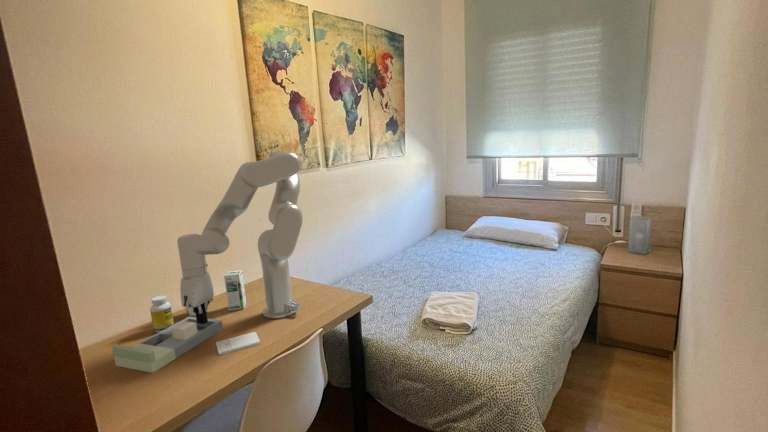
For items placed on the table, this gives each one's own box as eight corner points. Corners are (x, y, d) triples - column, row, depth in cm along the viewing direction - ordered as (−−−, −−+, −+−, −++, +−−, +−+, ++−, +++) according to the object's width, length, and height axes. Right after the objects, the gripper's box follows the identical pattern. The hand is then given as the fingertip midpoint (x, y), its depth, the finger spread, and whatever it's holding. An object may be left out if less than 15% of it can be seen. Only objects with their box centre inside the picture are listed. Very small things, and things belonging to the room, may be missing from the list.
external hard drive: (260, 345, 127) (219, 357, 121) (255, 335, 134) (216, 346, 128) (260, 341, 126) (218, 352, 120) (255, 331, 133) (215, 341, 128)
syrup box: (228, 311, 154) (223, 275, 152) (232, 305, 160) (227, 270, 157) (243, 309, 155) (238, 273, 152) (246, 303, 161) (242, 269, 158)
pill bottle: (165, 333, 138) (160, 301, 136) (149, 332, 140) (143, 301, 138) (178, 324, 145) (173, 294, 142) (163, 324, 146) (157, 294, 144)
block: (197, 332, 130) (195, 322, 130) (185, 339, 126) (183, 329, 125) (185, 331, 132) (184, 321, 131) (173, 338, 127) (171, 328, 127)
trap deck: (223, 328, 139) (220, 312, 138) (152, 372, 113) (149, 353, 112) (190, 324, 144) (187, 308, 143) (115, 365, 118) (112, 347, 117)
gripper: (203, 264, 140) (210, 312, 144) (167, 278, 127) (176, 331, 130) (219, 265, 138) (226, 314, 141) (185, 279, 124) (193, 334, 127)
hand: (202, 322), depth 135 cm, fingers closed
